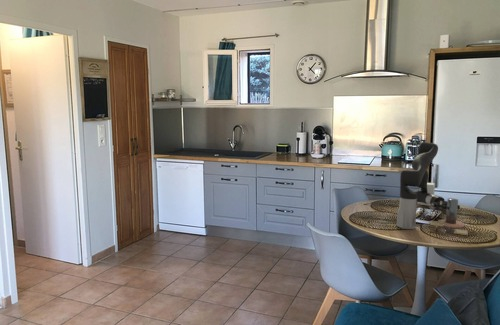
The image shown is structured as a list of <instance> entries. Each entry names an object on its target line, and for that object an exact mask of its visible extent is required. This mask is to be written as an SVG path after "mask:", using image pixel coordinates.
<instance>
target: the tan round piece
mask: <svg viewBox="0 0 500 325" xmlns="http://www.w3.org/2000/svg"><path fill="white" fill-rule="evenodd" d="M438 221H439V222H444V224H443V226H445V227H449V228H450V229H463V228H465V223H464V222H462V221H459V220H456V224H449V223H446V218H445V219H443V218H442V219H439V220H438Z"/></svg>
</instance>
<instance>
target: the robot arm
mask: <svg viewBox="0 0 500 325" xmlns="http://www.w3.org/2000/svg"><path fill="white" fill-rule="evenodd" d="M438 152H439V146H438V144H436V143H433V142H428V141H426V142H425V141H421V142H420V144H419V146H418V151H417V155H416V156H415V157H414V159H413V160H412V163H411V167H412V169H405V168H404V169H402V170H401V172H400V179H399V180H400V183H399V184H400V185H399V187H400V188H399V205H398V207H399V208H398V209H397V212H396V213H397V214H396V226H397V227H398V228H400V229H404V230H414V229H416V220H417V210H418V209H417V207H418V206H417V205H418V203H419V202H421V203H425V204H428V205H427V206H429V205H430V207H432V208H434V209H437V210H440V209H441V210H442V209H443V210H446V211H447V200H445V198H444V197H442V196H439V195H436V194H434V195H433V194H429V193H428V191H427V183H429V182H428V181H429V172H428V168H429V167H430V165H431V163H432V161H433V160H434V159H435V157H436V156H437V154H438ZM409 187H414V188H419V190H418V189H417V190H411V189H410V188H409ZM420 188H421V190H420ZM460 208H461V206H460V204H458V208H457V210H460Z"/></svg>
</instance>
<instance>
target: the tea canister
mask: <svg viewBox="0 0 500 325" xmlns="http://www.w3.org/2000/svg"><path fill="white" fill-rule="evenodd" d="M446 201H447V210H446V214H445V219H446V223H449V224H456V221H457V218H458V217H457V216H458V209H457V208H458V205H459V199H458V198H452V197H451V198H447V200H446Z"/></svg>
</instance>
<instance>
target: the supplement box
mask: <svg viewBox="0 0 500 325" xmlns="http://www.w3.org/2000/svg"><path fill="white" fill-rule="evenodd" d="M435 188H436V183H435V182H427V191H428V193H429V194H433V195H435V191H436V190H435ZM419 190H421V188H419ZM418 205H421V206H430V205H428V204H425V203H421V202H418ZM430 207H431V206H430Z"/></svg>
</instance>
